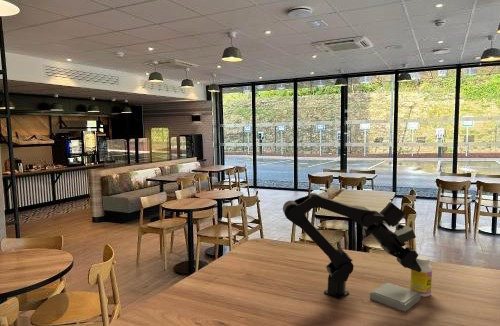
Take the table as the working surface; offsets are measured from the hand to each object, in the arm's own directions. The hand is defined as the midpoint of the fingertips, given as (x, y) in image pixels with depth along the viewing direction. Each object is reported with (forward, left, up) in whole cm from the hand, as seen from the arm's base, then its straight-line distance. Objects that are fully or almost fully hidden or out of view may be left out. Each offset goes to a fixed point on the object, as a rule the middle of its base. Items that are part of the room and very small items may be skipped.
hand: (414, 266), depth 126 cm
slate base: (-9, +2, -10) cm, 14 cm away
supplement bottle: (+2, -2, -10) cm, 10 cm away
